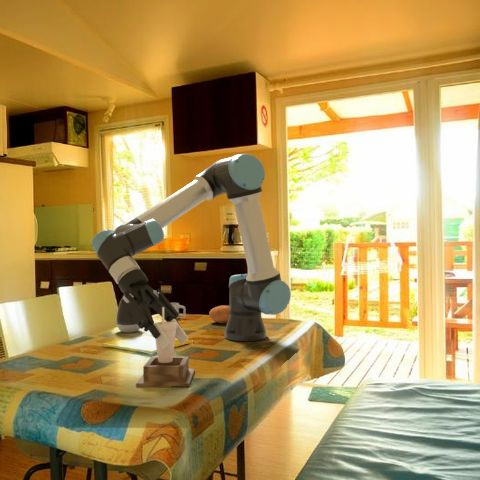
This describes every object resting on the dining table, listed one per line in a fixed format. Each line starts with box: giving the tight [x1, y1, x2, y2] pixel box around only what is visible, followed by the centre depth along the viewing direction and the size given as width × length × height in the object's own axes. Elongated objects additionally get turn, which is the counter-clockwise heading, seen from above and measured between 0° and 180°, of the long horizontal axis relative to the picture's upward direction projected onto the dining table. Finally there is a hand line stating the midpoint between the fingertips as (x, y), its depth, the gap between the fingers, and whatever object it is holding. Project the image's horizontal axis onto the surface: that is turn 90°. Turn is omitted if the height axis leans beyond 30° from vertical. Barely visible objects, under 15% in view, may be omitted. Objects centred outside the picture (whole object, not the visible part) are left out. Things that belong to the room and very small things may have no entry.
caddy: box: [135, 355, 196, 388], centre depth 122 cm, size 13×13×4 cm
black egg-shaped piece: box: [115, 294, 142, 334], centre depth 183 cm, size 10×10×15 cm
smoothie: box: [154, 307, 178, 363], centre depth 122 cm, size 6×6×14 cm
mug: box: [169, 302, 187, 320], centre depth 212 cm, size 10×7×7 cm, turn 81°
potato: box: [208, 305, 230, 324], centre depth 200 cm, size 9×11×8 cm
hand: (176, 343), depth 120 cm, fingers closed on smoothie, 6 cm apart
